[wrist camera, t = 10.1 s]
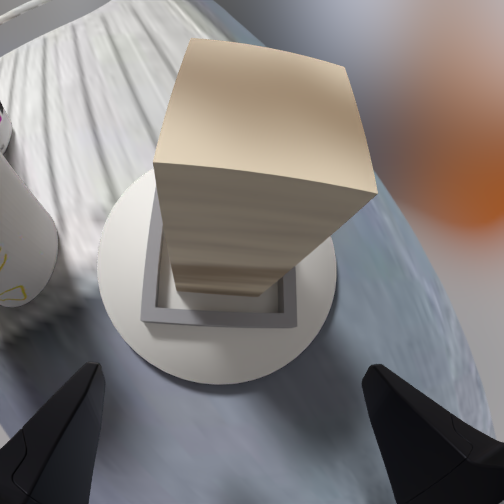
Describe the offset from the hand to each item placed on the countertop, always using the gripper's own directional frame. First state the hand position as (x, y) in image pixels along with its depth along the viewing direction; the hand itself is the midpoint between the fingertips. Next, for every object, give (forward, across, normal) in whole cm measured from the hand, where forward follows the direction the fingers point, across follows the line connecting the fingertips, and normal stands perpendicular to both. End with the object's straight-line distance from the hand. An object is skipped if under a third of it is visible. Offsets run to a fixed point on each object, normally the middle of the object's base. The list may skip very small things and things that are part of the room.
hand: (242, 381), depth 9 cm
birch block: (+11, 0, +1) cm, 11 cm away
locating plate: (+12, 0, +2) cm, 12 cm away
